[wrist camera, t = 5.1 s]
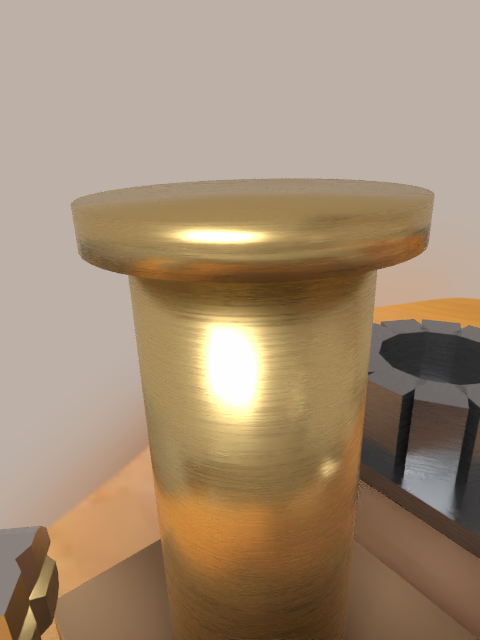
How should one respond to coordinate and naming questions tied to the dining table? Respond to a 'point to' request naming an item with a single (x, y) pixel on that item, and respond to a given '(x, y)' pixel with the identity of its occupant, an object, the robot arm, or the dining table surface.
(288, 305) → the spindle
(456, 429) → the hub
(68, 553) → the dining table surface
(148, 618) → the stand
